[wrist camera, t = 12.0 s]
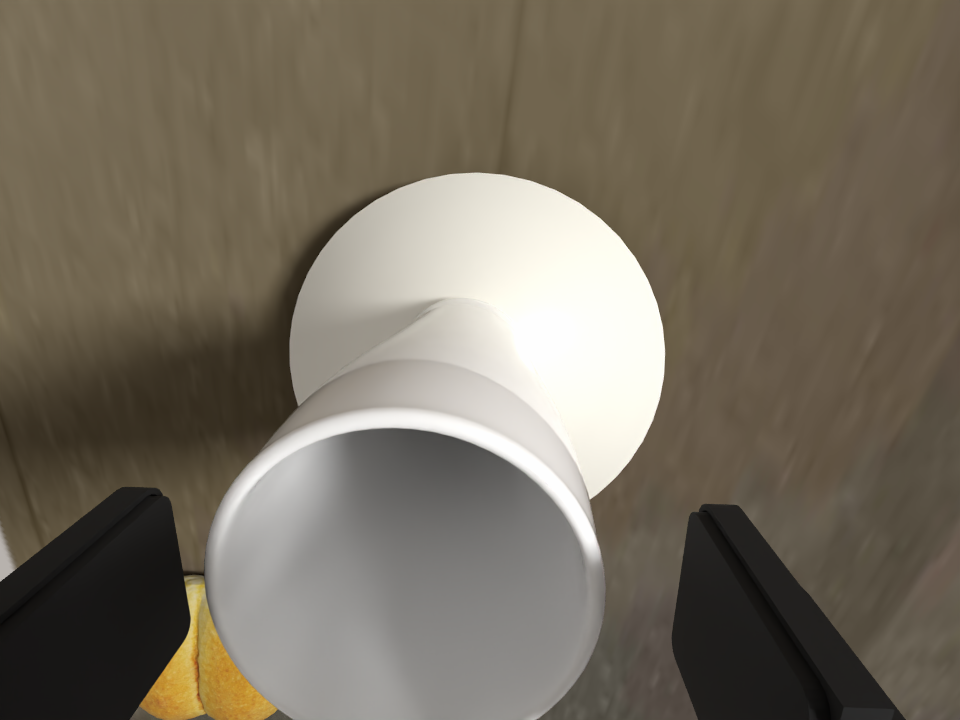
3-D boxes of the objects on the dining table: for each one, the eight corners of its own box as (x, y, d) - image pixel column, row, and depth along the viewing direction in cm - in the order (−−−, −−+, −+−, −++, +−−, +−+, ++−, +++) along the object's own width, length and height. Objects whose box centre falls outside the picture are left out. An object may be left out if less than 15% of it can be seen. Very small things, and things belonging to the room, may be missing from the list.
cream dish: (288, 171, 23) (273, 169, 22) (674, 177, 22) (686, 175, 21) (313, 511, 27) (303, 528, 26) (637, 522, 27) (645, 540, 25)
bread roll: (308, 700, 31) (281, 770, 27) (151, 681, 31) (101, 749, 27) (311, 575, 29) (282, 633, 25) (142, 556, 29) (86, 610, 25)
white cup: (454, 459, 25) (387, 820, 10) (351, 345, 23) (108, 572, 9) (576, 368, 23) (698, 635, 9) (474, 242, 22) (421, 312, 8)
